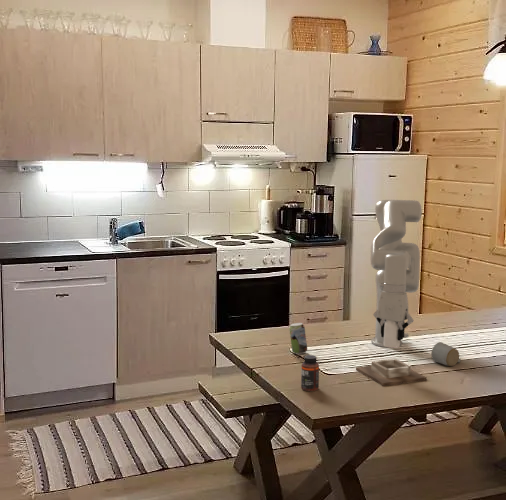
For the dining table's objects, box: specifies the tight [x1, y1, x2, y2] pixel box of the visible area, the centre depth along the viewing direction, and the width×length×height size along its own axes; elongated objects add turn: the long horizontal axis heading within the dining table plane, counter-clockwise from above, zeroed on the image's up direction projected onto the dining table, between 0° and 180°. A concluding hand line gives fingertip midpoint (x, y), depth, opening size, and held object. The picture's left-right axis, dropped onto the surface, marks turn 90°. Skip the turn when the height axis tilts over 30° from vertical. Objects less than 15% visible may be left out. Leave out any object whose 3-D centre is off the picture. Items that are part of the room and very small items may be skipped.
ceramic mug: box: [430, 341, 462, 367], centre depth 264 cm, size 11×8×8 cm
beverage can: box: [288, 322, 308, 355], centre depth 274 cm, size 6×7×12 cm
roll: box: [384, 320, 401, 349], centre depth 248 cm, size 6×12×6 cm
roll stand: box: [355, 358, 427, 387], centre depth 250 cm, size 18×18×4 cm
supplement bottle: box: [300, 354, 320, 392], centre depth 234 cm, size 6×6×11 cm
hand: (392, 337), depth 248 cm, fingers closed on roll, 5 cm apart
